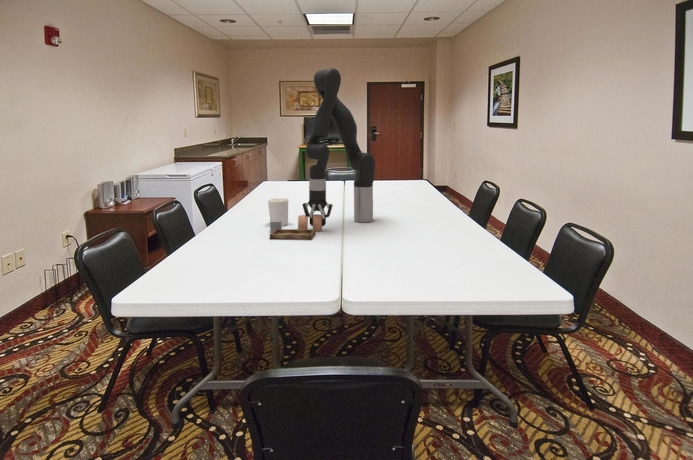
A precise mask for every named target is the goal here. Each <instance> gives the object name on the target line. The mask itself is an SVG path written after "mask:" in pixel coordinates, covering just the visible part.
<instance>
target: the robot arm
mask: <svg viewBox="0 0 693 460" xmlns="http://www.w3.org/2000/svg"><path fill="white" fill-rule="evenodd" d="M313 82H314V83H313V84H314V85H315V86H314V87H315V89H316V90H317V92H318V94H319V96H320V98H321V99H322V101H321V103H320V105H319V108H318V109H317V111H316V113H315V114H314V115H315V116H314V119H313V125H312V126H313V127H312V132H311V134H310V137H309V139H308V141H307V144H306V147H305V154H306V157H307V158H308V159H309V160H316V164H313V165H311V166H310V167H309V182H308V190H309V191H308V195H309V196H308V198H309V199H308V202H303V204H302V209H303V211H304V212H303V213H304V215H305V216H308V219H309V225H310V226H311V227H313V215H315V214H314V213H315V212H320V215H322V227H325V225H326V223H327V221H326V220H327V219H326V218H329V217H330V216H331V214H332V209H333V203H328V202H327V180H326V169H327V165H328V162H329V158H330V148H329V146H328V144H324V143H321V141H323V140H325V139H327V138H328V136H329V131H330V126H331V120H332V121H333V124H334V126H335V129H336V132H337V133H338V135H339V137H340V139H341V142H342V144H343V147H344V149H345V152H346V155H347V157H348V158H347V159H348V161H349V164H350V166H351V168H352V169H353V170H354V171H356V172H359V175H358V177H357V178H356V179H355V180H354V181H353V219H354V222H356V223H372V222H373V221H374V199H373V198H374V195H373V193H374V192H373V191H374V189H373V188H374V181H375V176H376V175H375V174H376V173H375V172H376V160H375V157H374V155H373V154H371V153H368V152H363V151H362V150H361V149H360V146H359V144H358V140H357V139H358V138H357V137H358V136H357V135H358V134H357V133H358V127H357V122H356V120H355V118H354V116H353V114H352V112H351V110H350V109H349V108H348V107H347V106H346V105H345V104H344V103H343V102H342V101H341V100H340V98H339V97H338V93H339V91H340V87H341V83H342V77H341V73H340V71H339V70H338V69H336V68H331V67H330V68H325V69H320V70H317V71H316V72H315V74H314V76H313ZM309 207H310V212H309ZM325 208H327V211H326V212H325Z"/></svg>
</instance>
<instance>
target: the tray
mask: <svg viewBox="0 0 693 460" xmlns="http://www.w3.org/2000/svg"><path fill="white" fill-rule="evenodd" d="M316 234H317V233H316V230H313V229H298V228H294V229H293V228H282V229H275V230H274V231H273V232H272V233H271V232H270V234H269V240H291V241H292V240H295V241H296V240H297V241H298V240H299V241H301V240H302V241H303V240H304V241H305V240H306V241H312V240H313V239H314V237H315V235H316Z"/></svg>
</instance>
